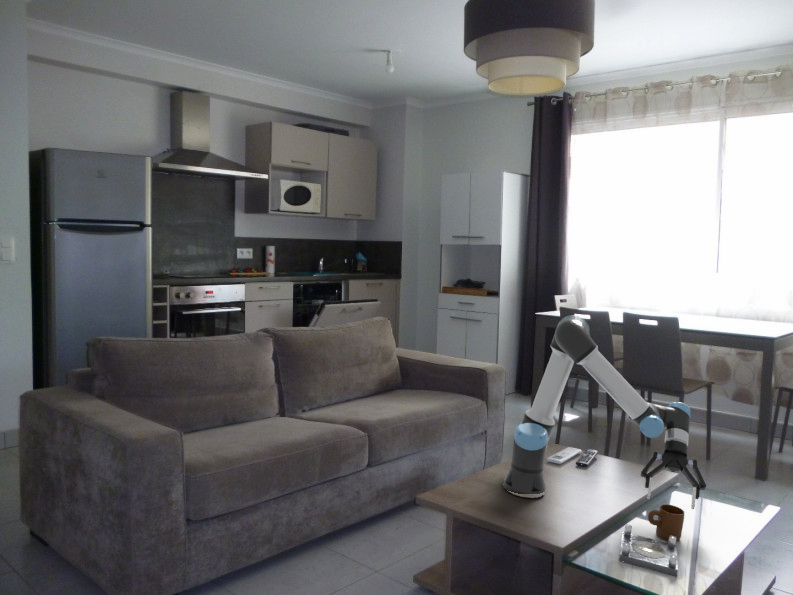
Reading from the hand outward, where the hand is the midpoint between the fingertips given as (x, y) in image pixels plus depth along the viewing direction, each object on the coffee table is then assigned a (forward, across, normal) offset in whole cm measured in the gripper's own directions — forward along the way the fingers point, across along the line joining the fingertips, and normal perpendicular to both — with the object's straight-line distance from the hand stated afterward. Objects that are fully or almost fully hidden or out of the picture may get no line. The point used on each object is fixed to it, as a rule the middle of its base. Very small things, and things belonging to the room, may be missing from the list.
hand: (670, 502), depth 216 cm
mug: (+11, +1, -3) cm, 12 cm away
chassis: (+22, +6, +8) cm, 24 cm away
